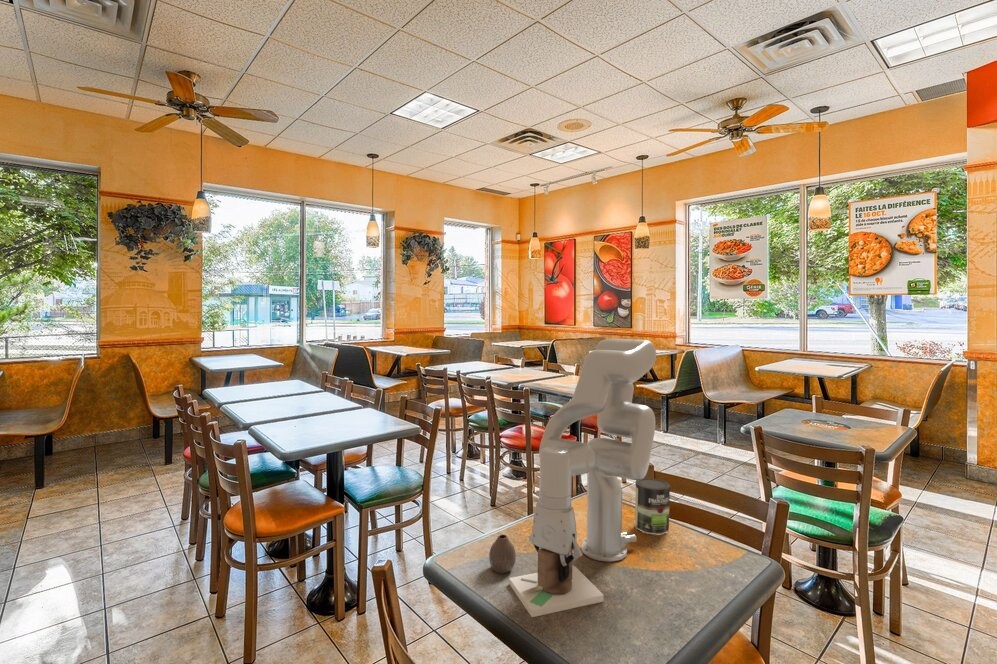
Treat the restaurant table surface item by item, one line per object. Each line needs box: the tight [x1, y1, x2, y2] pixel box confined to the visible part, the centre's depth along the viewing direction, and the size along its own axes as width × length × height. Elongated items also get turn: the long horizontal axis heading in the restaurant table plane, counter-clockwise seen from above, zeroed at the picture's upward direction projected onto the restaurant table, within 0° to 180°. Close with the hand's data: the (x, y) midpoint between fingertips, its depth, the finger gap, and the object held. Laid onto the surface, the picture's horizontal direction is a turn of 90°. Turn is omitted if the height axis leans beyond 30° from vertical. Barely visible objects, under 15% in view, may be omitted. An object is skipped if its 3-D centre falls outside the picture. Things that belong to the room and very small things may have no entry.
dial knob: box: [522, 548, 574, 596], centre depth 116 cm, size 13×8×9 cm, turn 121°
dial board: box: [508, 565, 605, 618], centre depth 117 cm, size 18×14×2 cm
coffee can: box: [634, 477, 671, 535], centre depth 153 cm, size 10×10×14 cm
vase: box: [488, 534, 517, 574], centre depth 128 cm, size 7×7×9 cm
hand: (554, 575), depth 117 cm, fingers closed on dial knob, 4 cm apart
